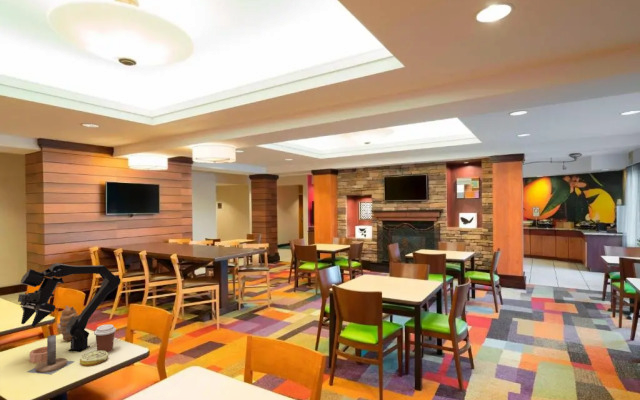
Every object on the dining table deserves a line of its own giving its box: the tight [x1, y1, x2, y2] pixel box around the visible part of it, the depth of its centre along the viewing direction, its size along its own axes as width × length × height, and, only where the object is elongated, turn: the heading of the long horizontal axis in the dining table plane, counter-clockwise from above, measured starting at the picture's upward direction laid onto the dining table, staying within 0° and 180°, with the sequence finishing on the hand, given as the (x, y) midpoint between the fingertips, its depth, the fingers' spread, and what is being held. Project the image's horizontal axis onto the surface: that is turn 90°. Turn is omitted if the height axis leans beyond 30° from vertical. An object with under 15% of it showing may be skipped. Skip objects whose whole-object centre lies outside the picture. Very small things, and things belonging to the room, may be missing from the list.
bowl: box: [29, 345, 47, 364], centre depth 162 cm, size 9×9×4 cm
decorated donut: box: [79, 350, 109, 367], centre depth 160 cm, size 10×11×4 cm
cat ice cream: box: [59, 304, 79, 342], centre depth 183 cm, size 9×8×18 cm
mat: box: [26, 360, 75, 375], centre depth 155 cm, size 12×12×1 cm
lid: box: [34, 334, 68, 374], centre depth 155 cm, size 11×11×13 cm
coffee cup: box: [93, 324, 117, 354], centre depth 171 cm, size 9×9×12 cm
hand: (27, 325), depth 155 cm, fingers open, 9 cm apart
